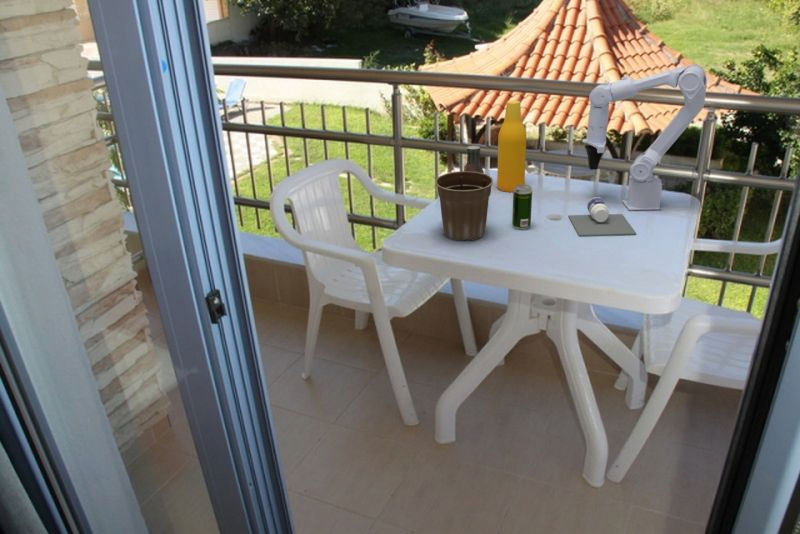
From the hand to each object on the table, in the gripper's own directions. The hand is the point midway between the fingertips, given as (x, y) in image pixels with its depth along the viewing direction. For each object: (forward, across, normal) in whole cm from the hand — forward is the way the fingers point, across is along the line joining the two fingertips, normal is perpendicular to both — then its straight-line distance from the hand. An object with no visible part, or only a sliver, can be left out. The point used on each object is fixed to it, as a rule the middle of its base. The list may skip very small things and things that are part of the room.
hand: (592, 168), depth 215 cm
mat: (+10, +21, -1) cm, 24 cm away
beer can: (+11, +20, -24) cm, 34 cm away
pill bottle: (+7, +12, -1) cm, 14 cm away
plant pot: (+11, +24, -41) cm, 49 cm away
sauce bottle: (+11, +5, -37) cm, 39 cm away
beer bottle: (+11, -14, -23) cm, 29 cm away
